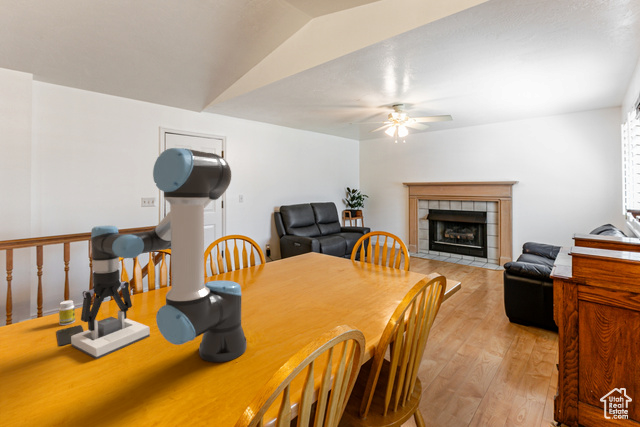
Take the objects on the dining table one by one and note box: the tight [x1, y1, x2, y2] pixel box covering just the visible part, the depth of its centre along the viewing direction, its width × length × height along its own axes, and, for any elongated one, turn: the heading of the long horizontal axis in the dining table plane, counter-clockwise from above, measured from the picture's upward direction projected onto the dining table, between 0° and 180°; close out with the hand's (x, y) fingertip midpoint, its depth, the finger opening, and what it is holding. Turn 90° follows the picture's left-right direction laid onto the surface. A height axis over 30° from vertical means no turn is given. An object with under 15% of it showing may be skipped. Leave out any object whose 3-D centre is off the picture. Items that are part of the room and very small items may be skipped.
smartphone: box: [56, 324, 85, 347], centre depth 107 cm, size 7×1×15 cm
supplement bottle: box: [58, 299, 76, 326], centre depth 116 cm, size 5×5×8 cm
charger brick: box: [97, 316, 120, 338], centre depth 104 cm, size 5×5×6 cm
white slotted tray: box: [70, 317, 151, 360], centre depth 103 cm, size 16×17×4 cm
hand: (108, 333), depth 104 cm, fingers open, 8 cm apart
